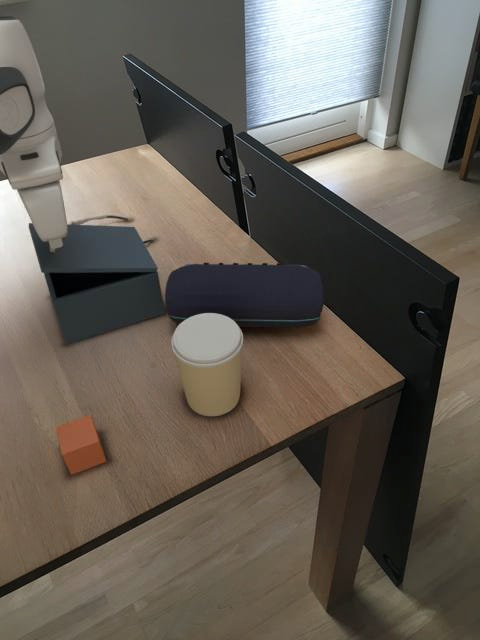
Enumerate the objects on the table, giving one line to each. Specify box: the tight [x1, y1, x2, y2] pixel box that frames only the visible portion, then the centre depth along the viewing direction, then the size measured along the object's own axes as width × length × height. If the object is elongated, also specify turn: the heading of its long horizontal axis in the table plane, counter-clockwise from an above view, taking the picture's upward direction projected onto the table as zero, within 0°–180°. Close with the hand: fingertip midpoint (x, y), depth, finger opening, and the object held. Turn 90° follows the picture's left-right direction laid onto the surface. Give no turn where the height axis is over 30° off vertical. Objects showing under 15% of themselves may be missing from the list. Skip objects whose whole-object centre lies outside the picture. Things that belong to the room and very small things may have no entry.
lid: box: [28, 222, 159, 274], centre depth 84 cm, size 17×14×5 cm
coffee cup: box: [170, 313, 244, 417], centre depth 73 cm, size 9×9×12 cm
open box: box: [43, 271, 166, 345], centre depth 91 cm, size 17×14×9 cm
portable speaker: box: [164, 262, 325, 328], centre depth 86 cm, size 25×10×10 cm, turn 86°
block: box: [55, 414, 107, 475], centre depth 69 cm, size 5×5×5 cm
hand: (53, 235), depth 81 cm, fingers closed on lid, 5 cm apart
